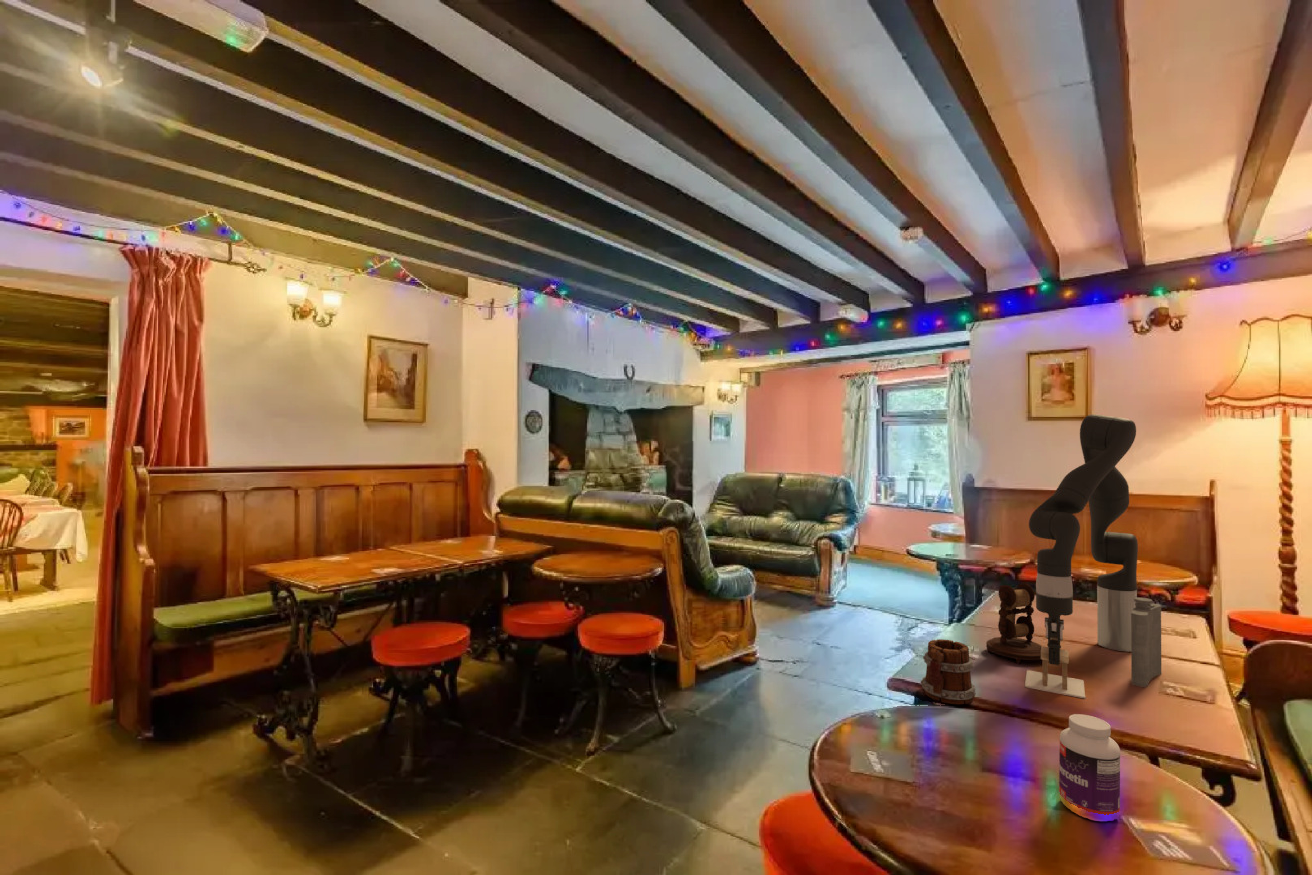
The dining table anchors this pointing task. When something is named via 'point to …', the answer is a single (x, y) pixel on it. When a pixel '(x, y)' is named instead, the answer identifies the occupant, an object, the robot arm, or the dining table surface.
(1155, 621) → the hip flask
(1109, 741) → the pill bottle
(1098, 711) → the dining table surface
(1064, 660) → the stool
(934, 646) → the mug
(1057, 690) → the mat
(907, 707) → the dining table surface
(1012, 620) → the scroll
